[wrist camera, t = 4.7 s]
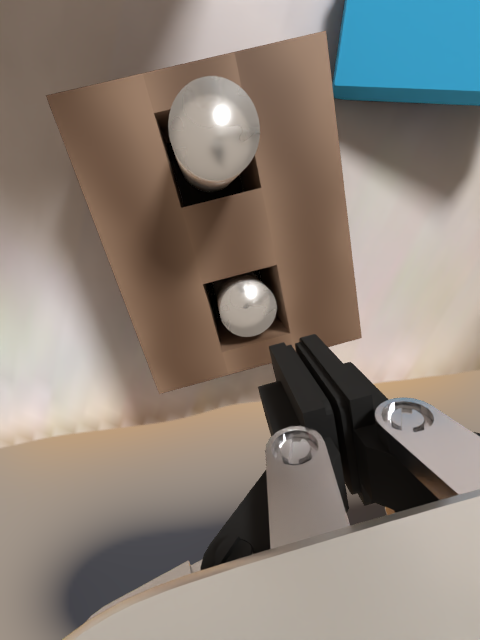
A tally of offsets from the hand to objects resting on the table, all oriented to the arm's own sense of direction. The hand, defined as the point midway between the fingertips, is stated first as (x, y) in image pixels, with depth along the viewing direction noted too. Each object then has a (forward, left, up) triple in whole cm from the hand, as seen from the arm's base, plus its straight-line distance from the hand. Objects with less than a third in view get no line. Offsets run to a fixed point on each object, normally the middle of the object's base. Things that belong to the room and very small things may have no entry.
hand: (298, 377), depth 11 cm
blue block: (-19, -12, -17) cm, 28 cm away
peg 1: (0, -9, -12) cm, 15 cm away
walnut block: (0, -4, -16) cm, 17 cm away
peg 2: (0, 0, -16) cm, 16 cm away
